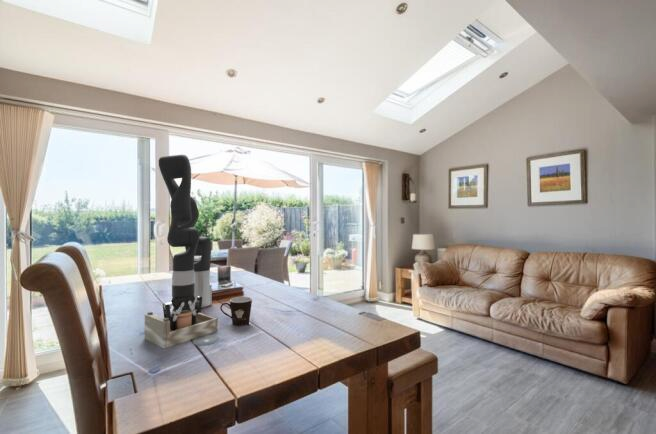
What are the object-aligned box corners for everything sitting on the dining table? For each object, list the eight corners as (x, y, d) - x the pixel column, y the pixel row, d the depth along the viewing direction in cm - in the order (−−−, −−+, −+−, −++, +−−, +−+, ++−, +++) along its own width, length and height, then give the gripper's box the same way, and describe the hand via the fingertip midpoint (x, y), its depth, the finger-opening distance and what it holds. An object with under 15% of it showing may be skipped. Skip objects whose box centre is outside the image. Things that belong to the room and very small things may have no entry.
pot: (186, 329, 117) (186, 307, 117) (195, 333, 114) (196, 310, 114) (170, 334, 112) (170, 311, 112) (179, 338, 109) (179, 314, 109)
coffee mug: (256, 322, 127) (256, 297, 127) (243, 329, 119) (244, 303, 119) (232, 319, 131) (232, 295, 131) (218, 325, 123) (218, 300, 123)
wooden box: (196, 324, 125) (196, 300, 125) (217, 331, 116) (217, 306, 116) (143, 339, 109) (144, 312, 109) (164, 350, 100) (164, 320, 100)
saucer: (209, 335, 113) (209, 333, 113) (223, 341, 108) (223, 338, 108) (187, 343, 106) (187, 340, 106) (201, 349, 101) (201, 346, 101)
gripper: (196, 277, 121) (195, 320, 121) (158, 284, 109) (157, 332, 109) (207, 280, 116) (207, 325, 116) (169, 287, 105) (168, 337, 105)
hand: (183, 328), depth 113 cm, fingers open, 6 cm apart
